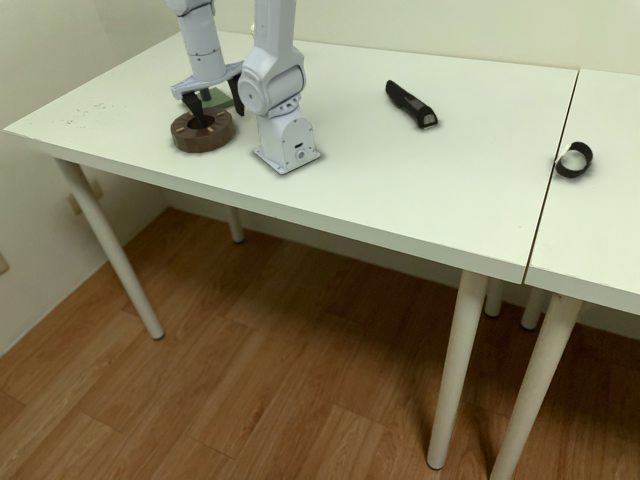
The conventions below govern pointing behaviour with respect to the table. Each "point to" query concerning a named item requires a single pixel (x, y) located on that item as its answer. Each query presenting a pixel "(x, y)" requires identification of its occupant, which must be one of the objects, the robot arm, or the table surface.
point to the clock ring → (203, 130)
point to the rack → (213, 98)
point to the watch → (580, 148)
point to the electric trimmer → (411, 105)
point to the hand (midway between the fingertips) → (222, 121)
